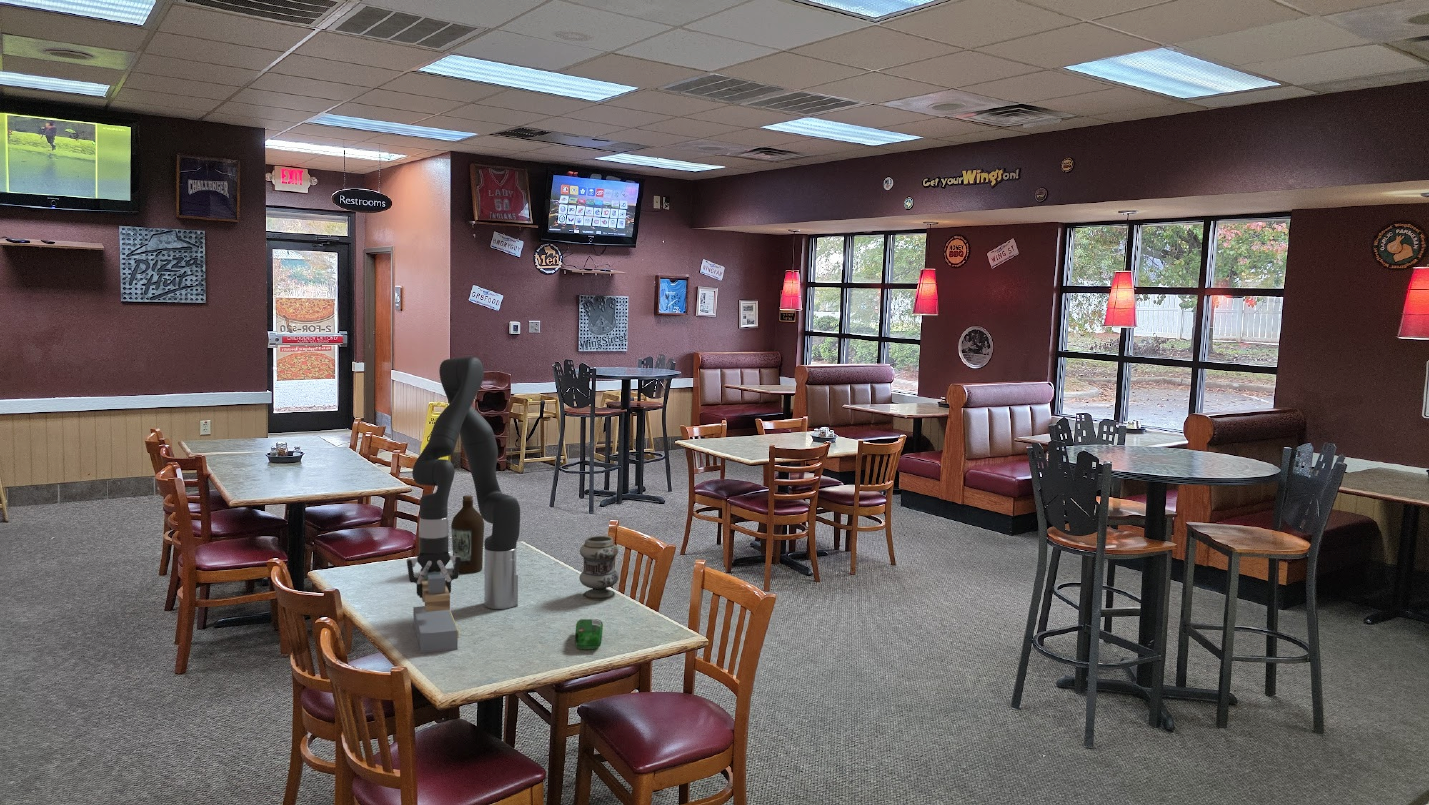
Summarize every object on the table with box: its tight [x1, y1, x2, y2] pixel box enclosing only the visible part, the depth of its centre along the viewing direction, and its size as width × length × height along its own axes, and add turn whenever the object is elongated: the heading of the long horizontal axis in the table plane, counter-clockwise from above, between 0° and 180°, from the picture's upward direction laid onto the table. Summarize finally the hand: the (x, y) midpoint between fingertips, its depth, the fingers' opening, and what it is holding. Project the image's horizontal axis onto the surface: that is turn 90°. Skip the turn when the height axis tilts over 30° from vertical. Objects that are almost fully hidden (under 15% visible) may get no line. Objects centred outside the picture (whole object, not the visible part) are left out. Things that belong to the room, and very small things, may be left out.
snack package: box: [574, 618, 604, 650], centre depth 253 cm, size 7×16×5 cm, turn 5°
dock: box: [412, 605, 460, 654], centre depth 254 cm, size 9×23×5 cm, turn 22°
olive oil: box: [450, 494, 485, 574], centre depth 318 cm, size 11×11×25 cm
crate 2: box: [428, 573, 446, 594], centre depth 247 cm, size 4×4×4 cm
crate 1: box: [424, 571, 441, 580], centre depth 260 cm, size 4×4×4 cm
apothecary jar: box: [578, 535, 620, 601], centre depth 293 cm, size 12×12×18 cm
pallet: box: [421, 572, 451, 612], centre depth 253 cm, size 21×6×4 cm, turn 22°
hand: (433, 595), depth 254 cm, fingers closed on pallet, 6 cm apart
